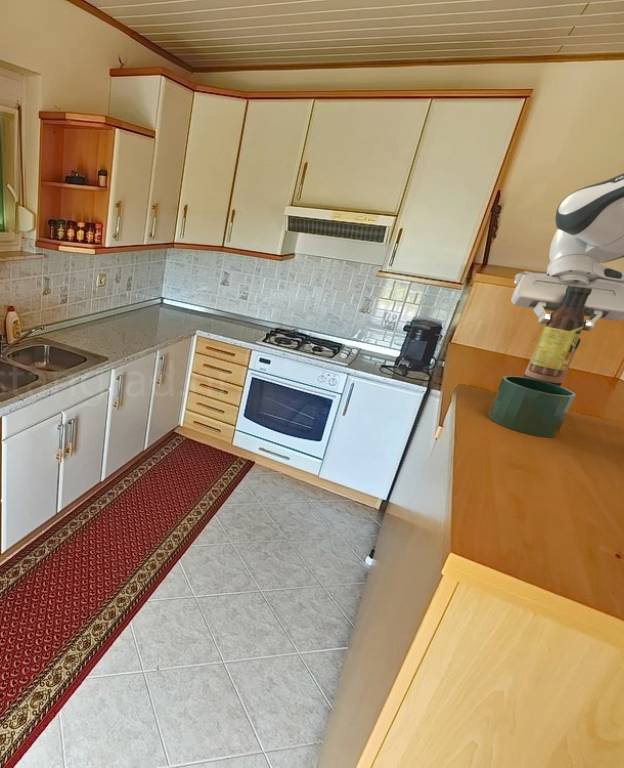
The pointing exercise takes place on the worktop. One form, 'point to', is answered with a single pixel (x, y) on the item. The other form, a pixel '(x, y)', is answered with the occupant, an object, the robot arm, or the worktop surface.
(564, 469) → the worktop surface
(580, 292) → the sauce bottle
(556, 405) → the crock
